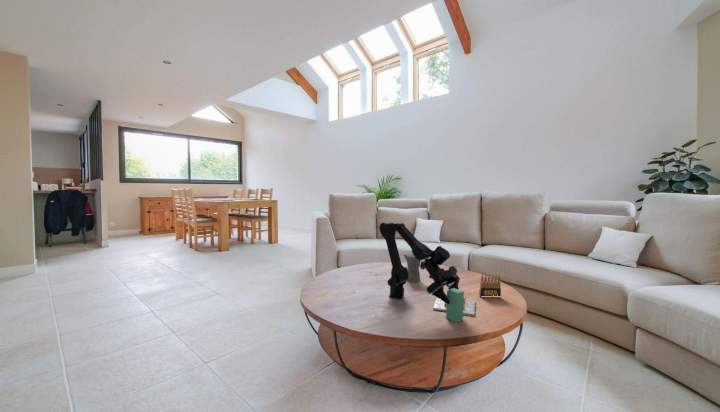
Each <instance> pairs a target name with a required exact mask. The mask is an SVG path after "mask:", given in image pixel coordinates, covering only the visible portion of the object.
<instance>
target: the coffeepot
mask: <svg viewBox="0 0 720 412" xmlns="http://www.w3.org/2000/svg"><path fill="white" fill-rule="evenodd" d="M402 256H403V258H405V260H406V265H407V266H406V267H407V271H408V274H409V275H408V280H407V281H406V282H409V281H410V283H411V282H412V283H418V281H419V282H420V281H421V275H420V270H426V268H425V267H423V268H420V265H421V262H422V260H417V259H416V258H415V256H414V255H413V253H410V254H408V253H407V254H406V253H405V254H403V255H402ZM425 260H426V259H424V261H425Z"/></svg>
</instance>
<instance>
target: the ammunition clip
mask: <svg viewBox="0 0 720 412" xmlns="http://www.w3.org/2000/svg"><path fill="white" fill-rule="evenodd" d="M479 283H480V287H479V292H478V293H479V294H478V296H479V295H480V296H493V295H494V296H497V295H498V296H501V297H502V289H501V286H502V285H501V275H500V274H499V275H498V276H497V274H495V275H494V274H492V275H490V274H488V276H487V274H485V275H483V274H481V277H480V282H479Z"/></svg>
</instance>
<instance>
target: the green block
mask: <svg viewBox="0 0 720 412" xmlns="http://www.w3.org/2000/svg"><path fill="white" fill-rule="evenodd" d="M446 294H447V298H448V299H449V301H450V304H447V308H446V312H445V319H446V320H449V321H451V320H452V322H453V323H458V322H460V321H462V320H463V318H464V317H463V316H464V315H463V299H464V297H465V296H464V295H465V291H464V290H461V289H460V288H459V289H455V288H452V289H450V290H449V289H448V290H446ZM461 319H462V320H461ZM459 320H460V321H459Z"/></svg>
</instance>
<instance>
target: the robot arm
mask: <svg viewBox="0 0 720 412" xmlns="http://www.w3.org/2000/svg"><path fill="white" fill-rule="evenodd" d="M378 228H379V232H380V235H381V236H382V238H384V240H385V243H386V247H387V250H388V255H389V258H390V263H391V271H390V276H391V277H390V278H388V280H387V281H386V282H387V285H388V286H389V295H388V298H392V299H396V300H402V298H403V297H404V296H405V287H404V285H406V284H407V282H408V281H407V280H408V275H409V274H408V271H407V269H408V266H406V267H405V266H403V264H402V261H401V257H400V254H399V248H398V246H397V240H396V234H397V233H398V235H399V236H400V237H401V238H402V239H403V240H404V242H406V244H407V245H408V246H409V247H410V249H411V254H413V255H414V256H415V258H416V259H417V260H421V261H420V266H419V269H421V268H423V267H425V270H426V271H427V273H428V274H429V276H428V278H429V279H432V281H433V282H432V283H430V284H429V285H428V286H427V287H426V292H427V293H428V295H431V296H434V297H436V299H437V298H439V299H441V300H442V301H444V302H445V303H447V304H450V301H449V299H448V298H447V296H446V294H447V293H445V290H444V288H445V286H446V287H447V289H448V290H450V289H452V288H455V289H459V290H460V288H459V283H460V280H461V278H460V277H459V275H457V272H458V269H457V268H456V267H455V266H454V265H452V266H449V267H448V269H446V270H445V268H441V267H440V266H442V265H443V264H444V263H445V262H447V260H448V259H450V258H451V254H450V252H449V251H448V250H447V249H445V248H444V247H442V245H439V246H437V247H436V248H435V249H434V250H432V249H430V247H428V246H427V245H426V244H425V243H422V242H421V241H419V240H418V239H417V238H416V237H415V235H414V234H413V233H412V232H411V231H410V230H409V228H407V226H406V225H405V223H403V222H398V223H397V222H396V223H394V222H392V221H386V222H381V223H380V224H379V227H378ZM425 259H426V260H425ZM423 260H424V261H423Z"/></svg>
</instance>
